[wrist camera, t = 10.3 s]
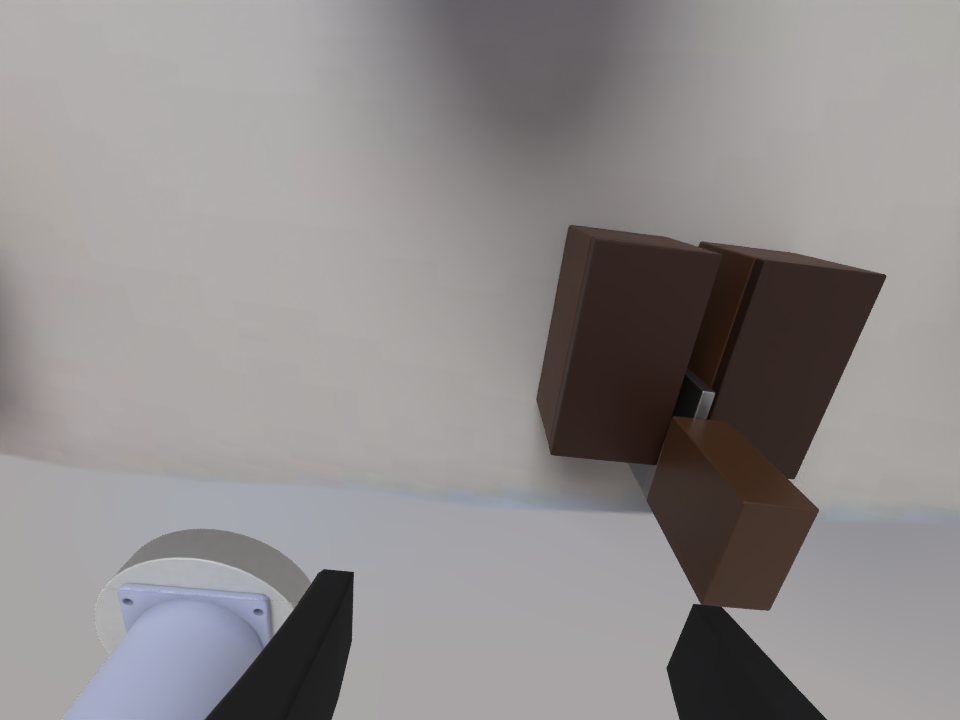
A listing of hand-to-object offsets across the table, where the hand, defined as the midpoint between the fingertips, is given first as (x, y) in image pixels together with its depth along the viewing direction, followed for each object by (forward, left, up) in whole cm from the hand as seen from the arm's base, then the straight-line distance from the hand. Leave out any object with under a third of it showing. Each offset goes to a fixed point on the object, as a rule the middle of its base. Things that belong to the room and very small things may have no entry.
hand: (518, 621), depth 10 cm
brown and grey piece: (+1, -6, -10) cm, 11 cm away
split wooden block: (+4, -6, -10) cm, 12 cm away
